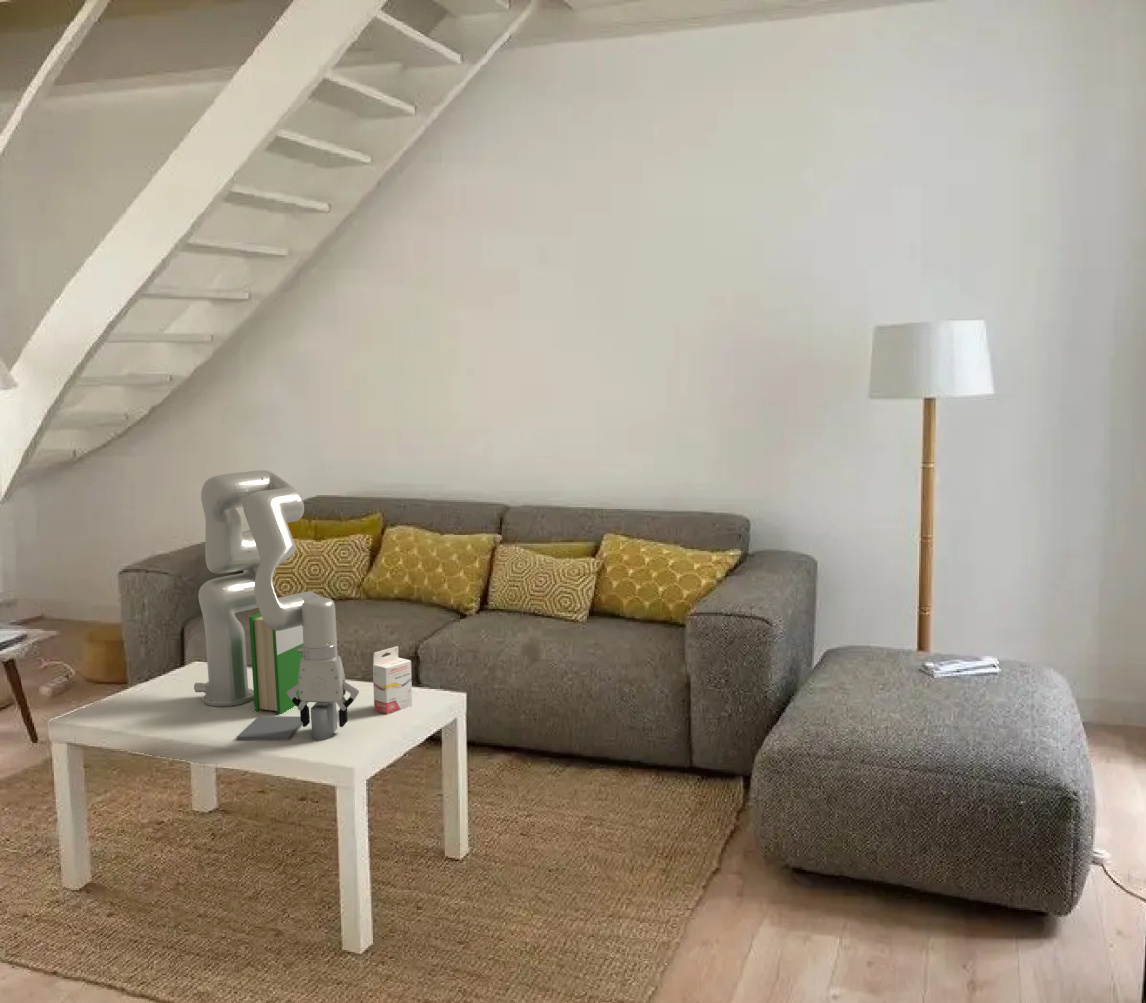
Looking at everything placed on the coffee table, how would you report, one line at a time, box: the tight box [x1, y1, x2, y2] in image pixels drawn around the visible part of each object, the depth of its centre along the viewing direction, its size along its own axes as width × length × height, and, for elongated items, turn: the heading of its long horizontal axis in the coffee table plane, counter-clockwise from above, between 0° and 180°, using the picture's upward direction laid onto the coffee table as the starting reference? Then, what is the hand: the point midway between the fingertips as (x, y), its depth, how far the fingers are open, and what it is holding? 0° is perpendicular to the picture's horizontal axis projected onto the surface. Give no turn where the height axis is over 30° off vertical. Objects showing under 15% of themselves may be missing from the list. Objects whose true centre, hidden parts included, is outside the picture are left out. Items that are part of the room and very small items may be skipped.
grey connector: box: [310, 702, 338, 742], centre depth 265 cm, size 4×10×9 cm, turn 176°
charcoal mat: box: [236, 715, 303, 741], centre depth 268 cm, size 12×14×1 cm
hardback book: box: [248, 612, 303, 715], centre depth 287 cm, size 18×7×24 cm, turn 160°
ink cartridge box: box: [372, 645, 413, 715], centre depth 281 cm, size 9×5×15 cm, turn 141°
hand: (324, 724), depth 265 cm, fingers open, 8 cm apart
